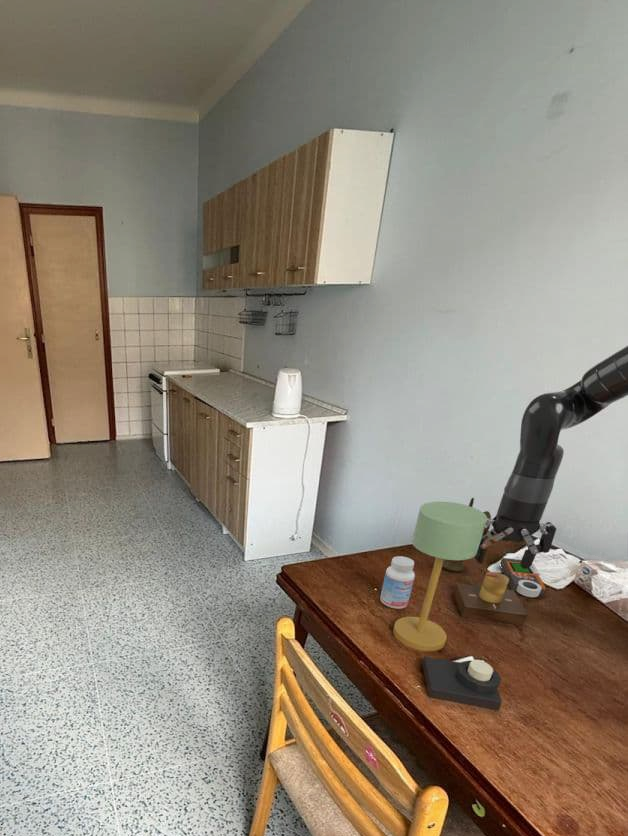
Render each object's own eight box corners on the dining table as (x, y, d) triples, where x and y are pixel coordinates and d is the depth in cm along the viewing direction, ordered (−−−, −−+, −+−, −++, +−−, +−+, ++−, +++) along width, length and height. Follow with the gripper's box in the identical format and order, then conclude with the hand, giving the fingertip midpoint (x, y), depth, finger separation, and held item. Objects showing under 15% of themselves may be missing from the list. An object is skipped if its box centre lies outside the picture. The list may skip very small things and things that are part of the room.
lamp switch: (487, 669, 85) (490, 662, 85) (492, 683, 82) (495, 675, 82) (465, 665, 86) (467, 658, 86) (469, 679, 83) (472, 671, 83)
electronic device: (518, 587, 111) (502, 555, 123) (513, 597, 113) (498, 565, 125) (551, 592, 109) (532, 559, 121) (546, 602, 111) (528, 568, 123)
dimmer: (509, 600, 111) (514, 589, 109) (523, 625, 102) (527, 614, 101) (453, 593, 114) (456, 582, 112) (461, 616, 106) (465, 605, 104)
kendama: (475, 576, 120) (498, 504, 111) (433, 571, 123) (453, 500, 114) (470, 565, 125) (492, 495, 116) (430, 560, 128) (449, 491, 119)
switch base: (487, 676, 89) (493, 660, 87) (500, 711, 81) (507, 694, 80) (422, 665, 92) (426, 649, 90) (428, 697, 85) (434, 681, 83)
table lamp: (442, 625, 103) (479, 504, 90) (452, 657, 94) (494, 528, 80) (388, 617, 106) (416, 499, 93) (392, 647, 97) (424, 521, 83)
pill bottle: (393, 612, 108) (404, 570, 102) (374, 599, 112) (382, 557, 107) (413, 605, 110) (424, 564, 104) (393, 593, 115) (402, 552, 109)
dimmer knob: (498, 594, 108) (506, 572, 105) (503, 604, 104) (512, 582, 101) (476, 591, 109) (484, 569, 106) (481, 601, 105) (489, 579, 103)
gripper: (490, 498, 94) (468, 568, 101) (575, 505, 90) (545, 577, 97) (481, 485, 100) (460, 552, 108) (560, 491, 96) (532, 560, 104)
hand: (500, 564), depth 102 cm, fingers open, 8 cm apart
